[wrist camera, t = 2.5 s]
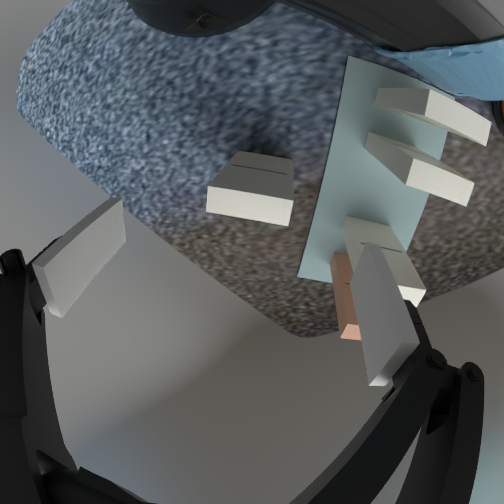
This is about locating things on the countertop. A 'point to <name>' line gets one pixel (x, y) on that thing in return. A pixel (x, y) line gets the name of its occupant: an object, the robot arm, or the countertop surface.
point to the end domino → (344, 296)
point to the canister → (499, 113)
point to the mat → (366, 167)
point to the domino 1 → (253, 188)
